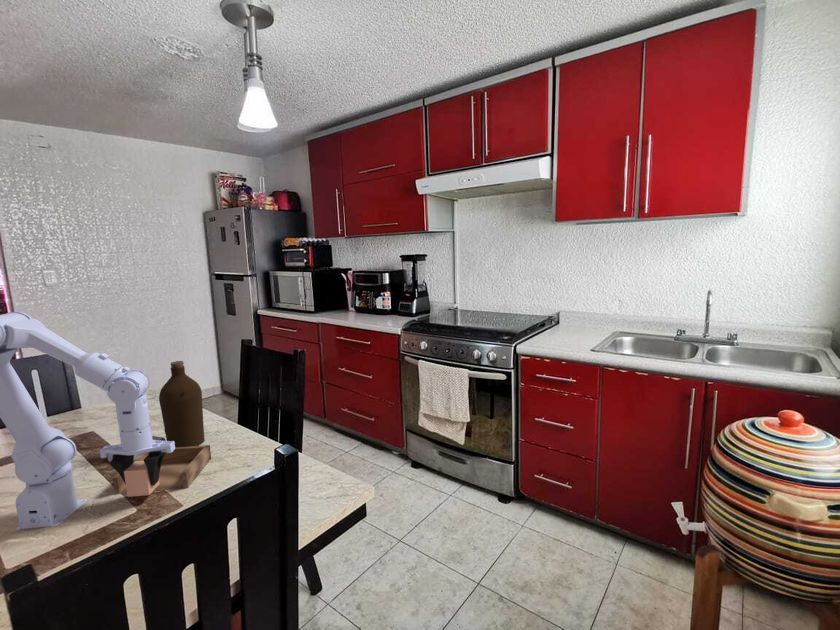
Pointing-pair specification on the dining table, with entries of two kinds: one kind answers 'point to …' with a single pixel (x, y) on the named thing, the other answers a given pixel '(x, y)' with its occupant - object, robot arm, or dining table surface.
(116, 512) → the dining table surface
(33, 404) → the robot arm
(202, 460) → the box
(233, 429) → the dining table surface
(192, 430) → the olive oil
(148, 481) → the block
